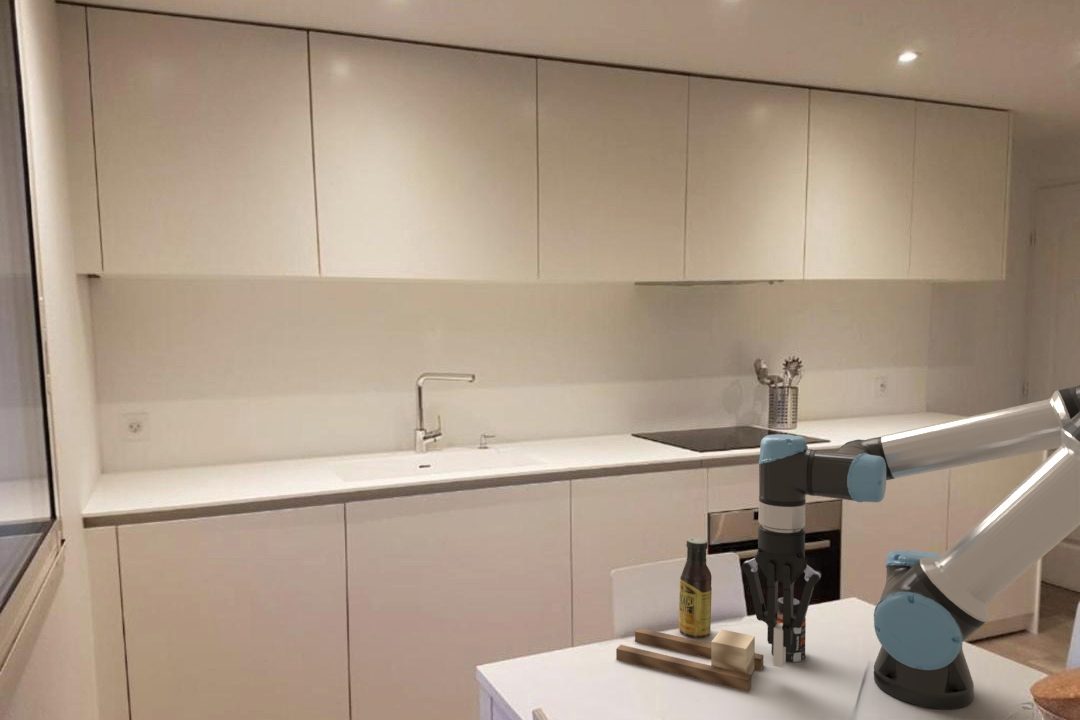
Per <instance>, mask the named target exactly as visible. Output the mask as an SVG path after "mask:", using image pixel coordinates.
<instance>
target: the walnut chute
mask: <svg viewBox="0 0 1080 720" xmlns="http://www.w3.org/2000/svg"><path fill="white" fill-rule="evenodd" d="M634 642H637V643H639V644H644V645H645V644H646V645H650V646H653V647H658V648H661V649H667V650H671V651H675V652H681V653H683V654H688V655H693V656H698V657H703V658H707V659H711V643H710V642H705V641H700V640H697V639H694V638H693V639H692V638H689V637H684V636H680V635H679V636H678V635H674V634H668V633H665V632H659V631H656V630H650V629H646V628H641V627H638V628H637V629H636V630H635V631H634ZM615 650H616V651H615V652H616V653H615V654H616V655H615V656H616V657H615V658H616V660H618V661H623V662H626V663H630V664H634V665H639V666H643V667H648V668H651V669H654V670H659V671H663V672H667V673H672V674H674V675H675V674H676V675H680V676H683V677H688V678H692V679H696V680H701V681H705V682H709V683H713V684H716V685H720V686H725V687H729V688H733V689H737V690H740V691H744V692H745V691H746V692H749V691H750V690H751V689H750V688H751V687H752V674H751V675H749V674H745V673H741V672H736V671H732V670H728V669H723V668H719V667H715V666H711V664H705V663H702V662H698V661H693V660H689V659H684V658H680V657H676V656H671V655H667V654H662V653H659V652H658V653H657V652H655V651H654V652H653V651H649V650H647V649H646V650H645V649H641V648H638V647H632V646H629V645H623V644H619V646H618V647H617V648H616V649H615ZM763 667H764V654H760V653H756V652H755V669H754V670H759V671H762V669H763Z"/></svg>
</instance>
